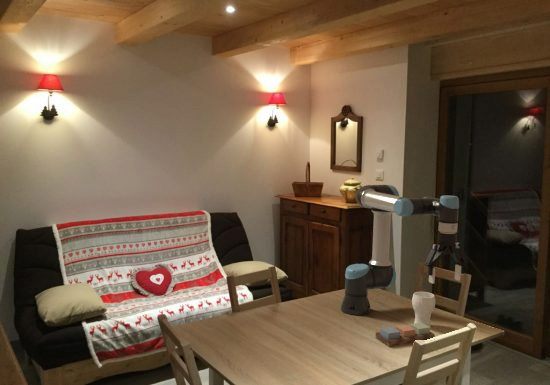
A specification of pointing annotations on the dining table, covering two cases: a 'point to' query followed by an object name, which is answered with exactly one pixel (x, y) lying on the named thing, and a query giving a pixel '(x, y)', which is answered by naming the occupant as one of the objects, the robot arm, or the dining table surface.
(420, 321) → the cup
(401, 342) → the button board
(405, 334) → the cap terracotta
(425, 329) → the cap sage
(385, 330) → the cap slate
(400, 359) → the dining table surface
